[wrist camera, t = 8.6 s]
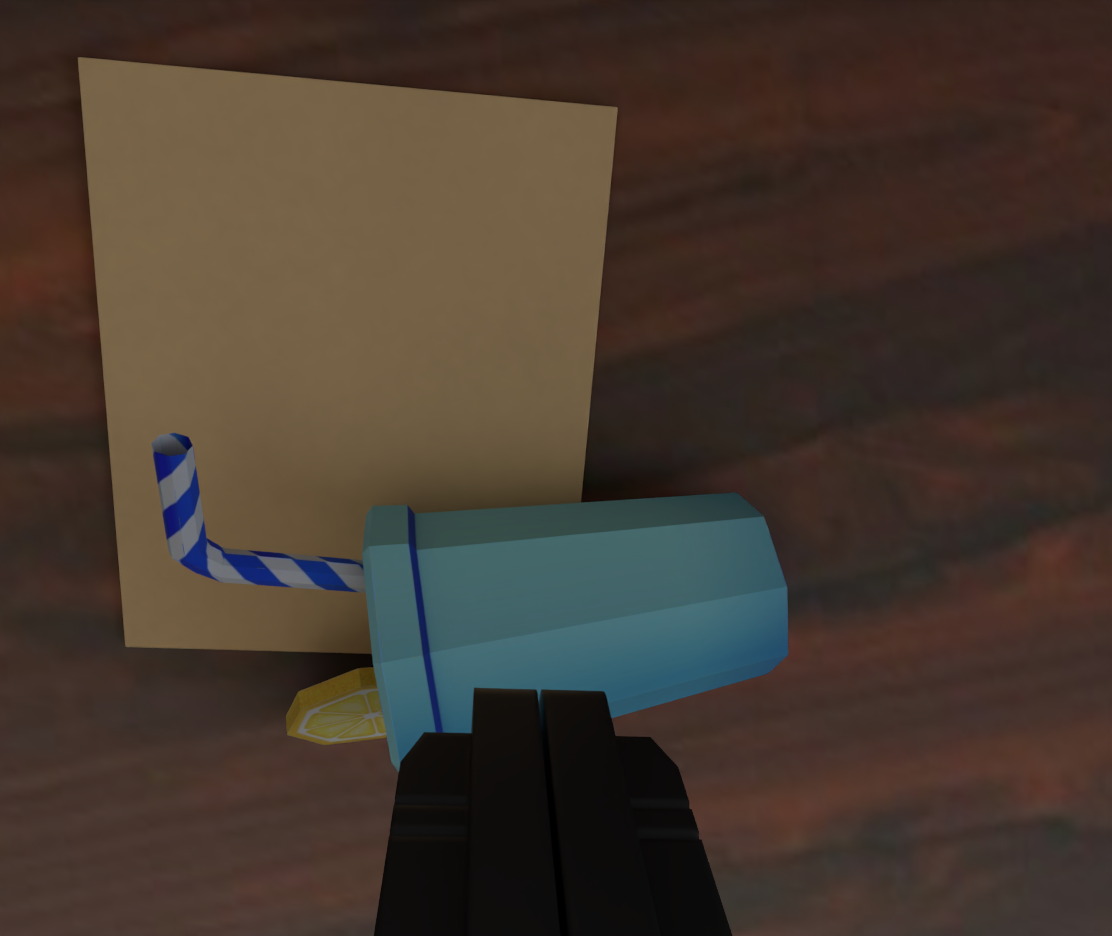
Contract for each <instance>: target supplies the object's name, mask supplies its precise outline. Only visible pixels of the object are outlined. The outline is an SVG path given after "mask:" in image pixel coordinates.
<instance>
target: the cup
mask: <svg viewBox="0 0 1112 936" xmlns="http://www.w3.org/2000/svg"><path fill="white" fill-rule="evenodd" d="M151 445H152V451H153V458H154V464H155V470H156V476H157V483H158V489H159V495H160V502H161V508H162V514H163V520H164V527H165V533H166V539H167V545H168V551H169V553H170V555H171V557H172V559H173V560H175V561H177V562H178V563H180V564H182V565H183V566H185V567H187V568H188V569H190V570H191V571H193V572H195V573H197V574H200V575H203V576H205V577H208V578H211V579H213V580H216V581H219V582H224V583H237V584H251V585H265V586H279V587H292V588H306V589H320V590H334V591H347V592H361V593H366V599H367V609H368V619H369V629H370V639H371V649H372V659H373V666H374V667H368V668H358V669H355V670H353V671H350V672H347V673H345V674H342V675H340V676H337V677H335V678H332V679H329V680H327V681H324V682H322V683H319V684H316V685H314V686H311V687H309V688H306V689H304V690H301V691H298V693H297V695H296V697H295V699H294V701H293V703H292V705H291V707H290V709H289V711H288V713H287V715H286V725H287V735H290V736H294V737H297V738H301V739H305V740H308V741H312V742H315V743H319V744H322V745H328V744H337V743H345V742H354V741H363V740H371V739H380V738H386V737H387V740H388V746H389V751H390V756H391V762H392V764H393V765H394V767H395V768H396V769H397V771H398V772H399V768H400V762H401V761H402V759H403V758H404V757H405V756H406V754H407V753H408V752H409V751H410V749H411V748H412V747H413V746H414V744H415V743H416V742H417V741H418V739H419V738H420V737H421V736H422V734H423V733H424V732H442V733H471V726H472V708H473V692H474V688H506V689H536V690H537V693H538V702H539V697H540V692H541V690H542V689H550V690H585V691H604V692H605V694H606V697H607V701H608V705H609V710H610V714H611V718H613V717H617V716H620V715H624V714H627V713H631V712H634V711H638V710H641V709H645V708H648V707H652V706H656V705H659V704H663V703H666V702H670V701H673V700H677V699H680V698H684V697H687V696H691V695H694V694H698V693H701V692H705V691H708V690H712V689H715V688H719V687H722V686H726V685H729V684H733V683H736V682H740V681H743V680H747V679H750V678H754V677H757V676H761V675H764V674H768V673H769V672H770V671H771V670H772V669H773V668H774V667H776V666H777V665H778V664H779V663H780V662H781V661H782V660H783V659H784V658H785V657H786V656H787V655H788V607H787V585H786V582H785V578H784V575H783V572H782V569H781V566H780V563H779V560H778V557H777V554H776V551H775V548H774V545H773V542H772V539H771V536H770V533H769V530H768V527H767V524H766V521H765V518H764V516H763V515H762V514H761V513H760V512H758V511H757V510H756V509H755V508H754V507H753V506H752V505H750V504H749V503H748V502H747V501H746V500H745V499H744V498H742V497H741V496H740V495H739V494H738V493H737V492H736V493H721V494H706V495H690V496H675V497H660V498H644V499H629V500H614V501H599V502H583V503H568V504H553V505H538V506H522V507H507V508H492V509H476V510H461V511H446V512H431V513H415V514H414V512H413V511H412V510H411V509H410V507H409V506H408V505H389V506H372V507H371V509H370V510H369V511H368V513H367V514H366V520H365V530H364V540H363V549H362V559H363V560H357V559H345V558H333V557H322V556H310V555H298V554H287V553H275V552H263V551H251V550H240V549H228V548H224V547H222V546H220V545H218V544H216V543H214V542H212V541H211V540H209V539H208V538H207V537H206V530H205V524H204V517H203V510H202V503H201V497H200V490H199V483H198V477H197V470H196V463H195V456H194V450H193V445H192V443H191V441H190V439H189V437H187V436H184V435H181V434H177V433H170V434H163V435H159V436H158V437H157V438H156V439H155V440H154V441H153V442H152V443H151Z"/></svg>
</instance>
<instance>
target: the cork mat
mask: <svg viewBox="0 0 1112 936" xmlns="http://www.w3.org/2000/svg"><path fill="white" fill-rule="evenodd" d="M78 67H79V79H80V92H81V104H82V117H83V129H84V141H85V154H86V166H87V178H88V191H89V203H90V215H91V228H92V240H93V252H94V265H95V277H96V289H97V302H98V314H99V326H100V339H101V351H102V363H103V376H104V388H105V400H106V413H107V425H108V437H109V450H110V462H111V475H112V487H113V499H114V512H115V524H116V536H117V549H118V561H119V573H120V586H121V598H122V610H123V623H124V635H125V646H126V647H150V648H185V649H220V650H255V651H290V652H325V653H360V654H372V649H371V639H370V629H369V619H368V609H367V599H366V593H361V592H347V591H334V590H320V589H306V588H292V587H279V586H265V585H251V584H237V583H224V582H219V581H216V580H213V579H211V578H208V577H205V576H203V575H200V574H197V573H195V572H193V571H191V570H190V569H188V568H187V567H185V566H183V565H182V564H180V563H178V562H177V561H175V560H173V559H172V557H171V555H170V553H169V551H168V545H167V539H166V533H165V527H164V520H163V514H162V508H161V502H160V495H159V489H158V483H157V476H156V470H155V464H154V458H153V451H152V445H151V443H152V442H153V441H154V440H155V439H156V438H157V437H158V436H159V435H163V434H170V433H177V434H181V435H184V436H187V437H189V439H190V441H191V443H192V445H193V450H194V456H195V463H196V470H197V477H198V483H199V490H200V497H201V503H202V510H203V517H204V524H205V530H206V537H207V538H208V539H209V540H211V541H212V542H214V543H216V544H218V545H220V546H222V547H224V548H228V549H240V550H251V551H263V552H275V553H287V554H298V555H310V556H322V557H333V558H345V559H357V560H363V559H362V549H363V540H364V530H365V520H366V514H367V513H368V511H369V510H370V509H371V507H372V506H389V505H408V506H409V507H410V509H411V510H412V511H413V512H414V514H415V513H431V512H446V511H461V510H476V509H492V508H507V507H522V506H538V505H553V504H568V503H581V497H582V487H583V476H584V465H585V454H586V444H587V433H588V422H589V412H590V401H591V390H592V379H593V369H594V358H595V347H596V336H597V326H598V315H599V304H600V293H601V283H602V272H603V261H604V251H605V240H606V229H607V218H608V208H609V197H610V186H611V175H612V165H613V154H614V143H615V133H616V122H617V111H618V108H617V107H611V106H600V105H589V104H579V103H568V102H557V101H546V100H536V99H525V98H514V97H503V96H493V95H482V94H471V93H460V92H450V91H439V90H428V89H418V88H407V87H396V86H385V85H375V84H364V83H353V82H342V81H332V80H321V79H310V78H299V77H289V76H278V75H267V74H256V73H246V72H235V71H224V70H214V69H203V68H192V67H181V66H171V65H160V64H149V63H138V62H128V61H117V60H106V59H95V58H85V57H78Z"/></svg>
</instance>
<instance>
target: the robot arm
mask: <svg viewBox="0 0 1112 936" xmlns="http://www.w3.org/2000/svg"><path fill="white" fill-rule="evenodd" d="M374 936H732V934H731V930H730V927H729V924H728V921H727V918H726V915H725V912H724V909H723V906H722V902H721V899H720V896H719V893H718V890H717V887H716V884H715V881H714V878H713V874H712V871H711V868H710V865H709V862H708V859H707V856H706V853H705V850H704V846H703V843H702V840H699V831H698V828H697V825H696V822H695V818H694V815H693V812H692V809H689V800H688V797H687V794H686V790H685V787H684V784H683V781H682V778H681V775H680V772H679V769H678V767H677V765H676V764H675V763H674V762H673V761H672V760H671V759H670V758H669V757H668V756H667V755H666V754H665V752H664V751H663V750H662V749H661V748H660V747H659V746H658V745H657V744H656V743H655V742H654V741H653V739H652V738H651V737H625V736H615V732H614V727H613V723H612V718H611V714H610V710H609V705H608V701H607V697H606V694H605V692H604V691H585V690H550V689H542V690H541V692H540V697H539V702H538V693H537V690H536V689H506V688H474V692H473V708H472V726H471V733H442V732H424V733H423V734H422V736H421V737H420V738H419V739H418V741H417V742H416V743H415V744H414V746H413V747H412V748H411V749H410V751H409V752H408V753H407V754H406V756H405V757H404V758H403V759H402V761H401V762H400V768H399V775H398V782H397V788H396V795H395V805H394V808H393V814H392V821H391V827H390V836H389V840H388V847H387V853H386V860H385V866H384V873H383V879H382V886H381V893H380V899H379V906H378V912H377V919H376V925H375V932H374Z"/></svg>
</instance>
